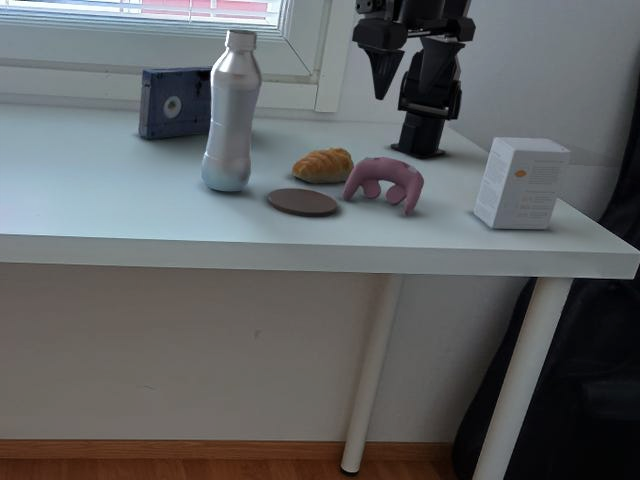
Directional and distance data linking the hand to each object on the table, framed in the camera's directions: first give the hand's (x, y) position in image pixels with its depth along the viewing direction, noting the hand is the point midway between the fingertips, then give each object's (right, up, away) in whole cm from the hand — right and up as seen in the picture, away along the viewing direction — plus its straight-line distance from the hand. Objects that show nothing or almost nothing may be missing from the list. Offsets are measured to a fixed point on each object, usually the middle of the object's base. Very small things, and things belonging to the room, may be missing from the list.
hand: (401, 96), depth 117 cm
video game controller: (-4, -15, -2) cm, 16 cm away
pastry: (-10, -10, +6) cm, 15 cm away
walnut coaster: (-14, -16, -5) cm, 22 cm away
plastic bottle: (-25, -13, -2) cm, 28 cm away
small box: (+13, -18, -4) cm, 23 cm away
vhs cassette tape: (-28, 0, +20) cm, 35 cm away
